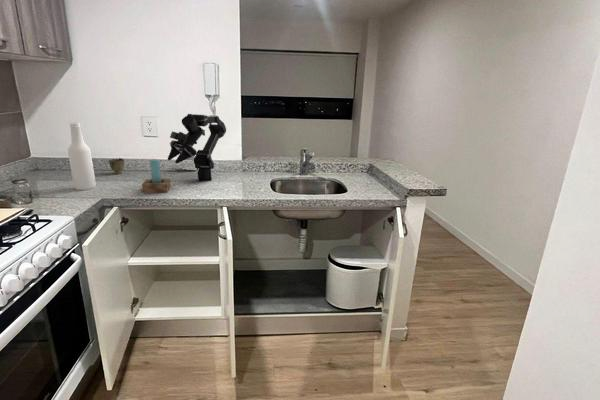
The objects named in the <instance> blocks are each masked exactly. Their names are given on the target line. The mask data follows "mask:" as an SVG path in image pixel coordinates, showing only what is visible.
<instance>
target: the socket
mask: <svg viewBox="0 0 600 400" xmlns="http://www.w3.org/2000/svg"><path fill="white" fill-rule="evenodd" d="M171 183H172V182H171V178H161V183H152V178H146V179H145V180H144V182H142V183H141V189H142V193H143V194H153V193H154V194H155V193H156V194H157V193H168V192H169V190H170V188H171V187H172V186H171V185H172V184H171Z"/></svg>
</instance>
